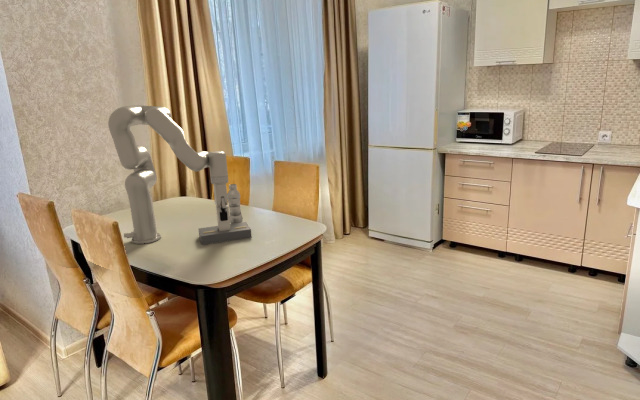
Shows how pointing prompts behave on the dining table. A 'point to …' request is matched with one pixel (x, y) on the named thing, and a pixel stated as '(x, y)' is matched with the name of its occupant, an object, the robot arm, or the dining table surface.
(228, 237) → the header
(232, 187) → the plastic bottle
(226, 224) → the plug
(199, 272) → the dining table surface
